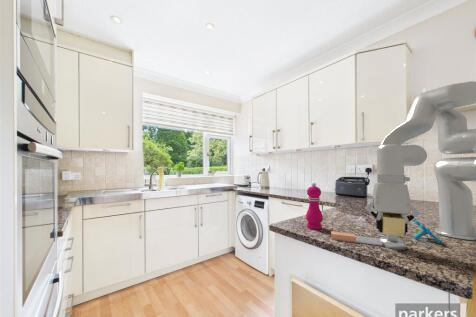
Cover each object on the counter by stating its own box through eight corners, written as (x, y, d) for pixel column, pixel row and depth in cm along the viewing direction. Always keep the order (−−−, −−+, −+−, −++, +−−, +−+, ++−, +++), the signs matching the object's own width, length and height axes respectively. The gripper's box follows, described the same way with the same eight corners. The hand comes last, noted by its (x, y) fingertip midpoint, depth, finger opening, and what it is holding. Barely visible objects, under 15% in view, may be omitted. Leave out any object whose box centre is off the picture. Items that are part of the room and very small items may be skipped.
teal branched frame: (446, 243, 68) (417, 218, 73) (430, 253, 70) (402, 228, 75) (440, 239, 76) (414, 217, 82) (425, 247, 78) (401, 225, 84)
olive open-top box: (399, 228, 70) (399, 212, 70) (404, 236, 65) (405, 219, 64) (379, 226, 73) (379, 210, 72) (382, 233, 68) (383, 217, 67)
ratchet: (401, 244, 71) (400, 228, 71) (408, 251, 65) (407, 234, 65) (331, 234, 80) (331, 220, 80) (331, 240, 74) (331, 225, 74)
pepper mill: (311, 224, 95) (310, 182, 96) (326, 228, 89) (325, 183, 90) (302, 227, 90) (302, 182, 91) (317, 231, 85) (317, 183, 86)
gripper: (418, 180, 69) (419, 233, 68) (360, 178, 77) (360, 226, 76) (427, 181, 63) (429, 240, 62) (363, 179, 70) (363, 231, 69)
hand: (391, 232), depth 69 cm, fingers closed on olive open-top box, 5 cm apart
